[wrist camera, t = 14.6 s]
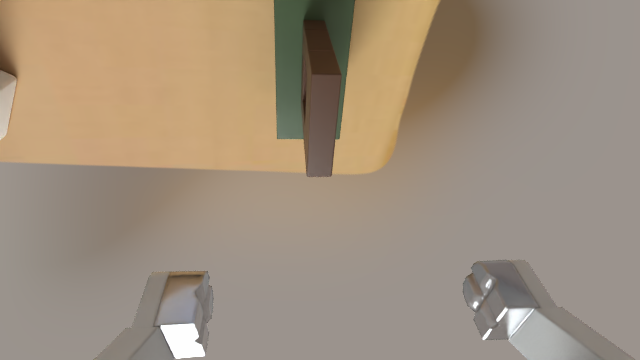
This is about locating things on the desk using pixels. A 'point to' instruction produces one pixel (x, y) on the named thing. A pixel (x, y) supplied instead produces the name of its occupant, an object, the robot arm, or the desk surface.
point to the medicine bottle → (6, 100)
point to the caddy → (312, 75)
